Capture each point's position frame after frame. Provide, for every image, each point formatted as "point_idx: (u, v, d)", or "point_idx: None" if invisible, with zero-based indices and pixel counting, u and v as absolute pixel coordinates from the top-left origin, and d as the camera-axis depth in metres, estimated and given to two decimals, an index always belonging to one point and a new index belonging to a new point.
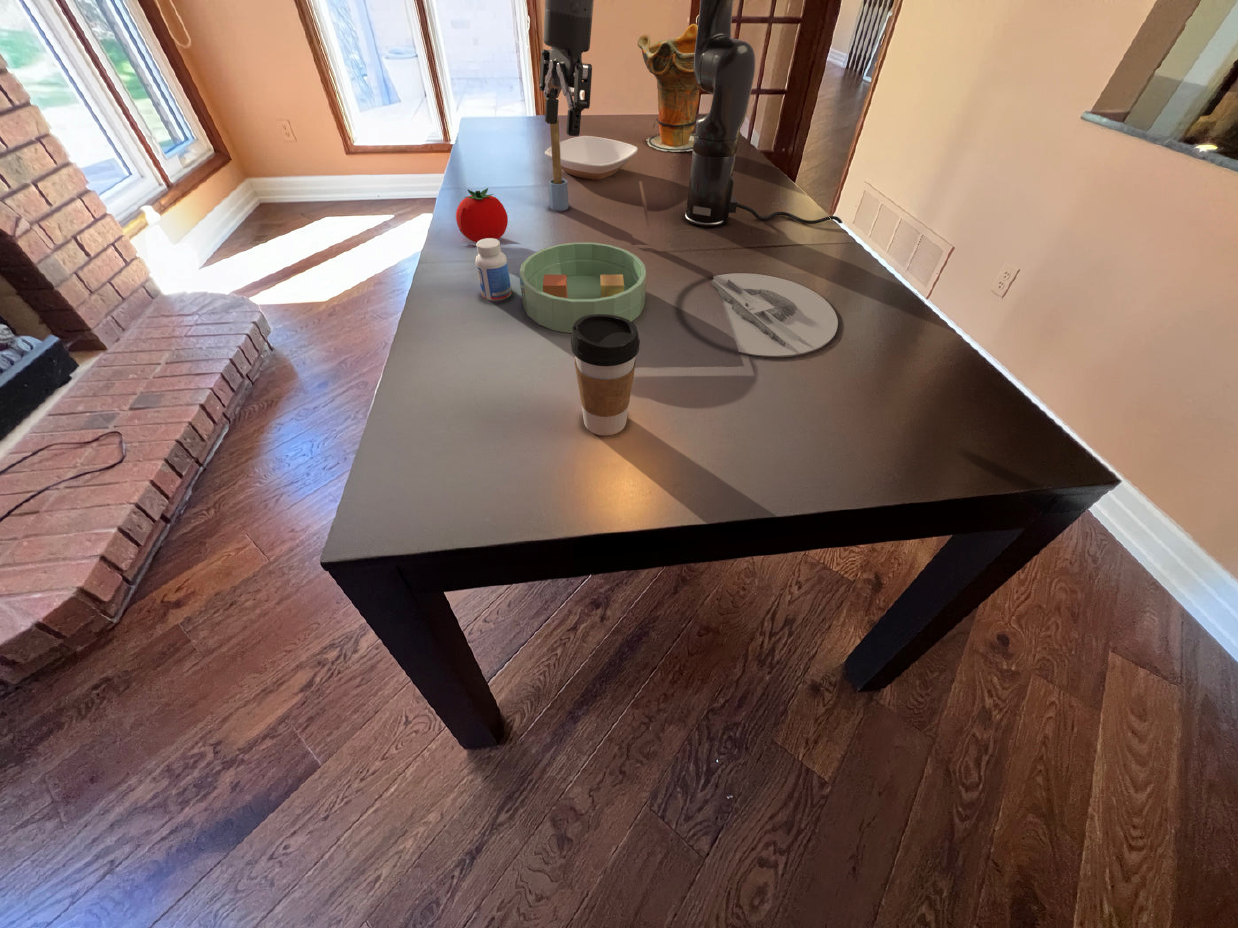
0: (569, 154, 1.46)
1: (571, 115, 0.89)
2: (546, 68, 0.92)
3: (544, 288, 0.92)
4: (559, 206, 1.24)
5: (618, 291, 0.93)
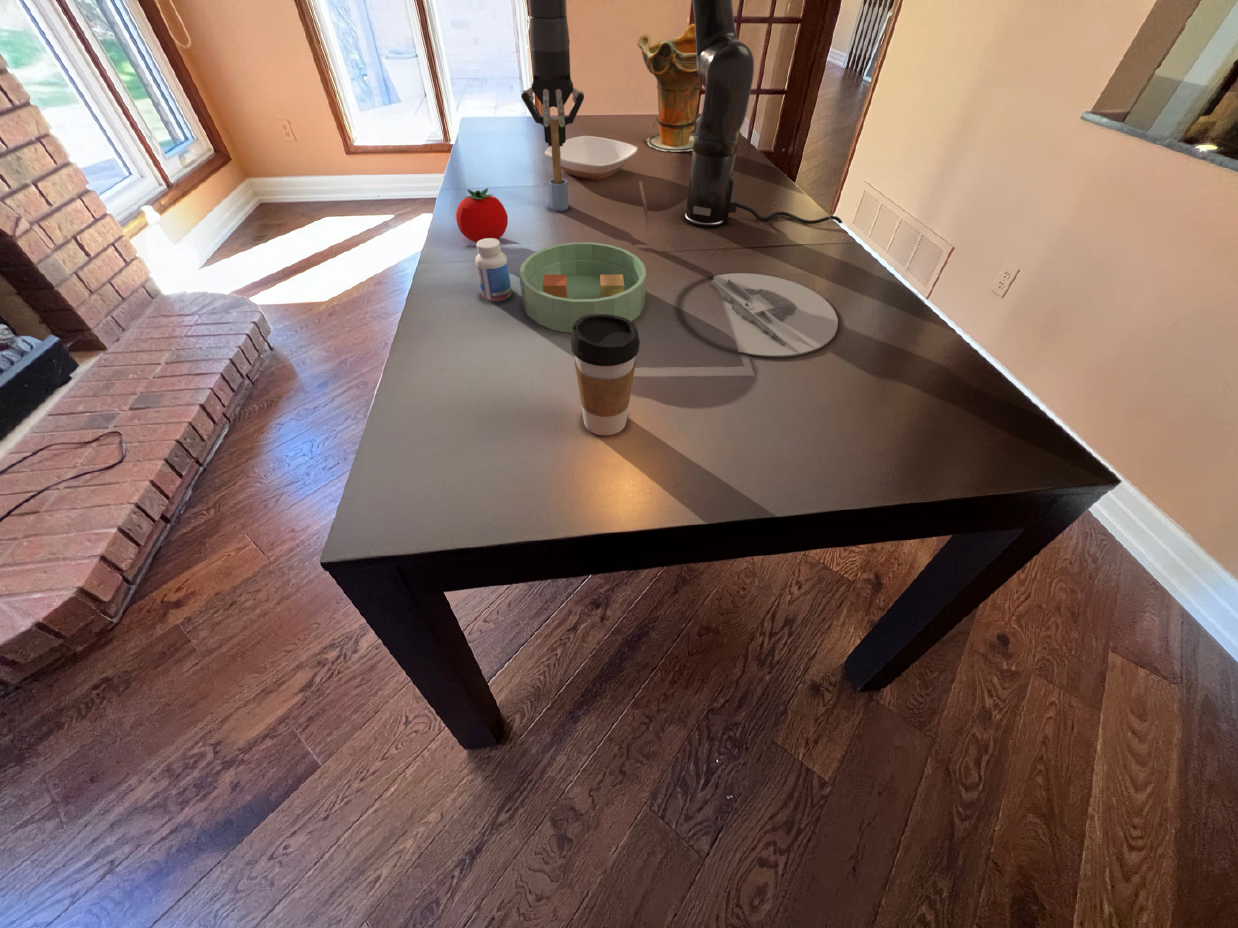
0: (569, 154, 1.46)
1: None
2: (574, 103, 1.12)
3: (544, 288, 0.92)
4: (559, 206, 1.24)
5: (618, 291, 0.93)
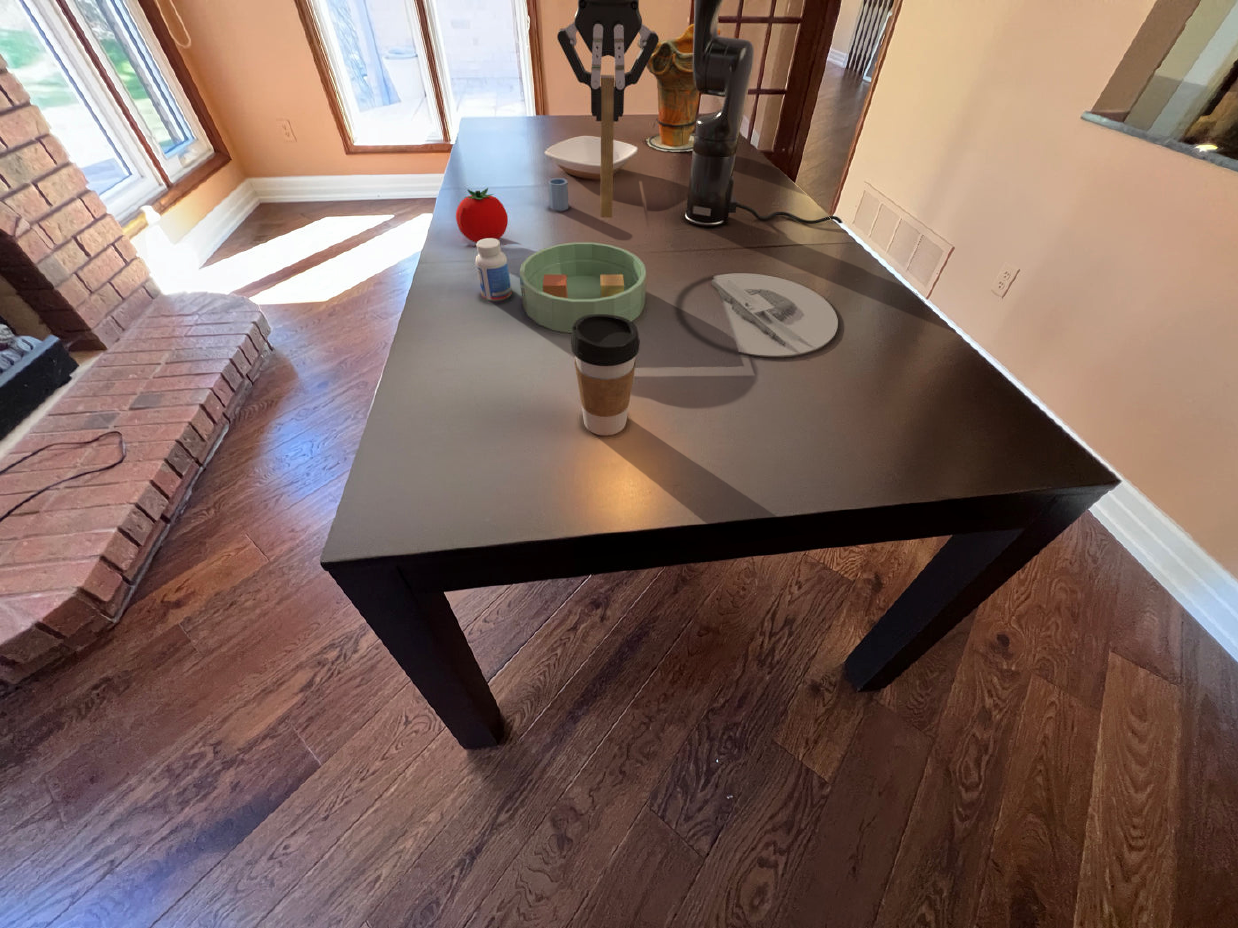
0: (569, 154, 1.46)
1: None
2: (641, 50, 0.70)
3: (544, 288, 0.92)
4: (559, 206, 1.24)
5: (618, 291, 0.93)
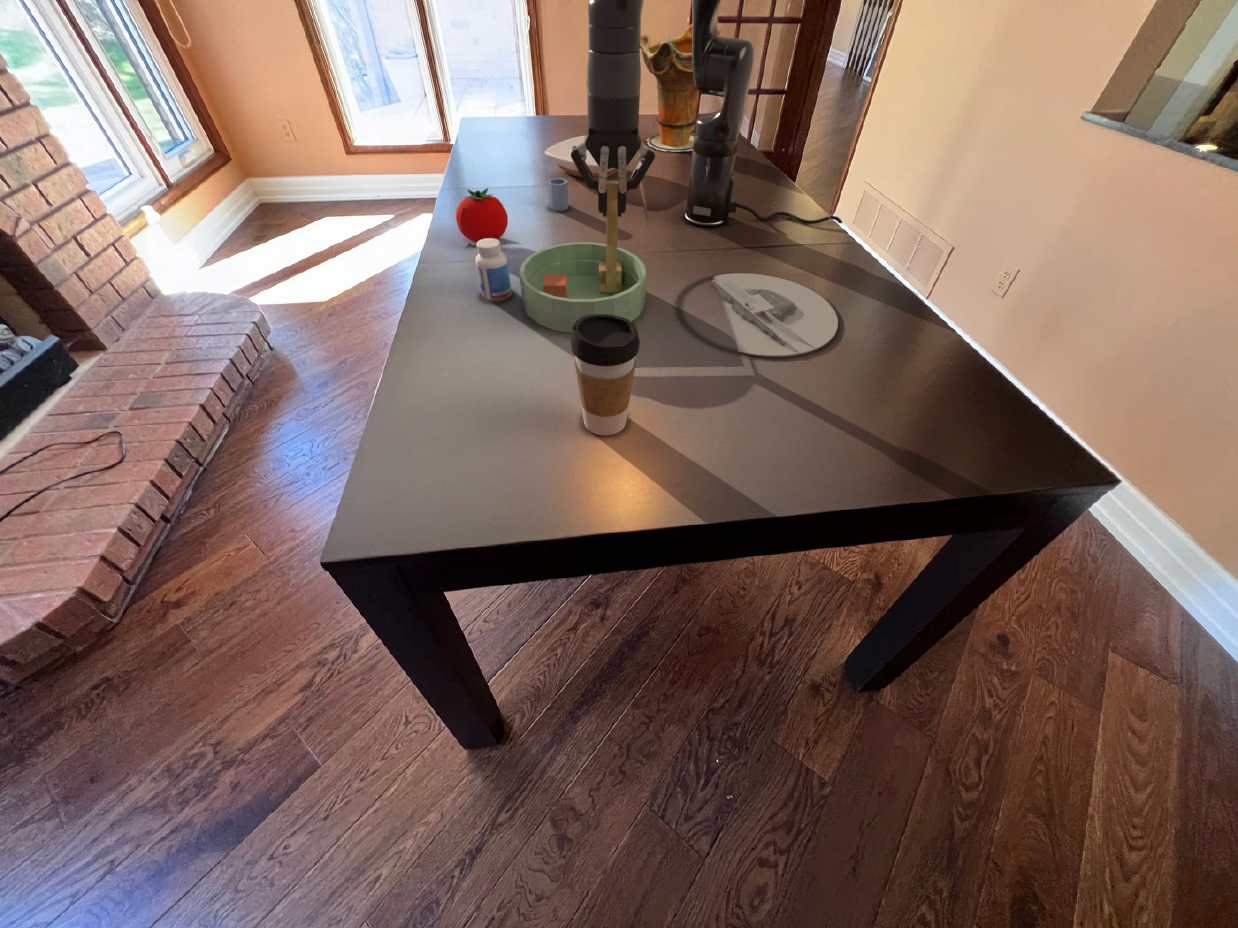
0: (569, 154, 1.46)
1: None
2: (640, 162, 0.83)
3: (544, 288, 0.92)
4: (559, 206, 1.24)
5: None
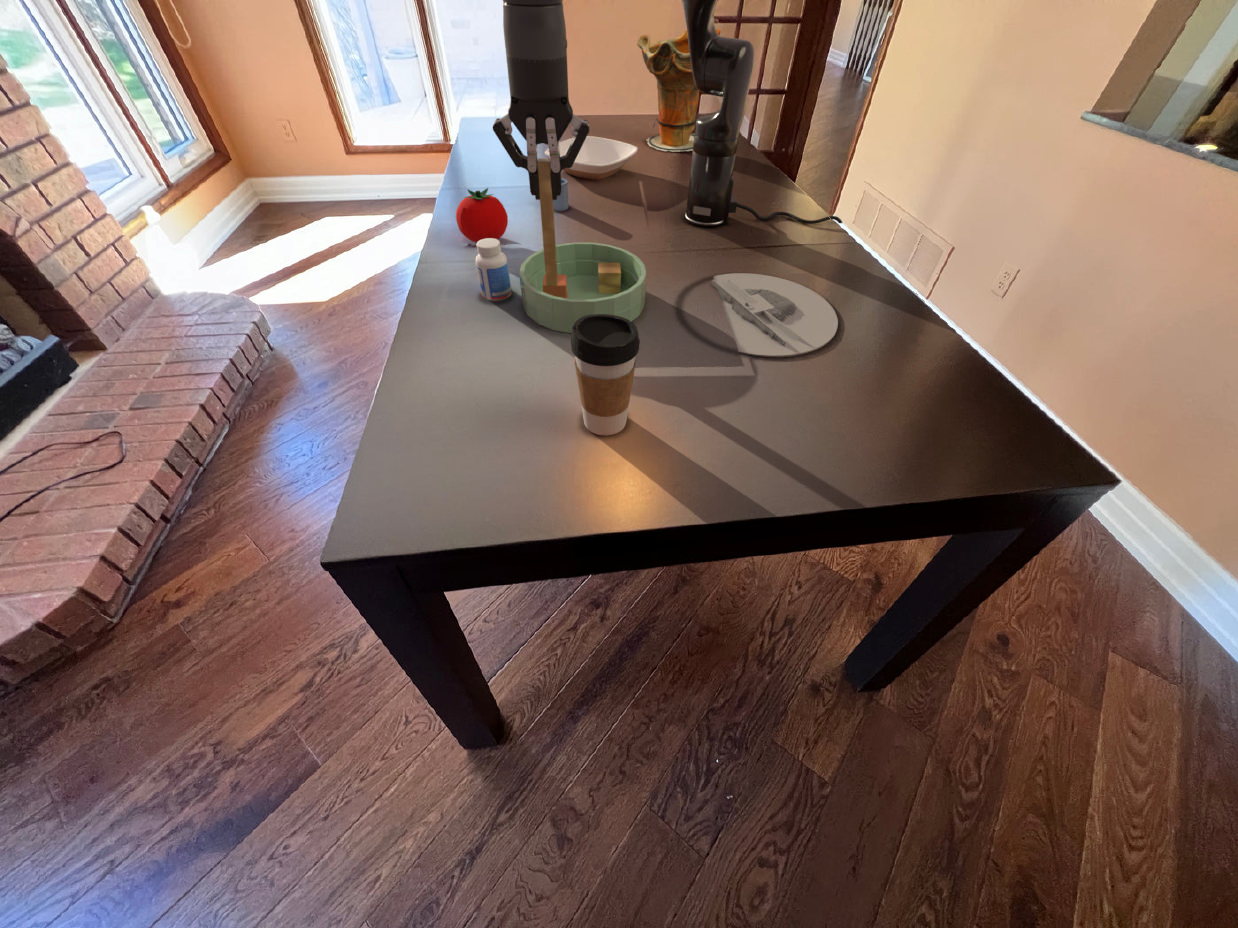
0: None
1: None
2: (574, 137, 0.74)
3: (544, 288, 0.92)
4: (559, 206, 1.24)
5: (615, 278, 0.96)
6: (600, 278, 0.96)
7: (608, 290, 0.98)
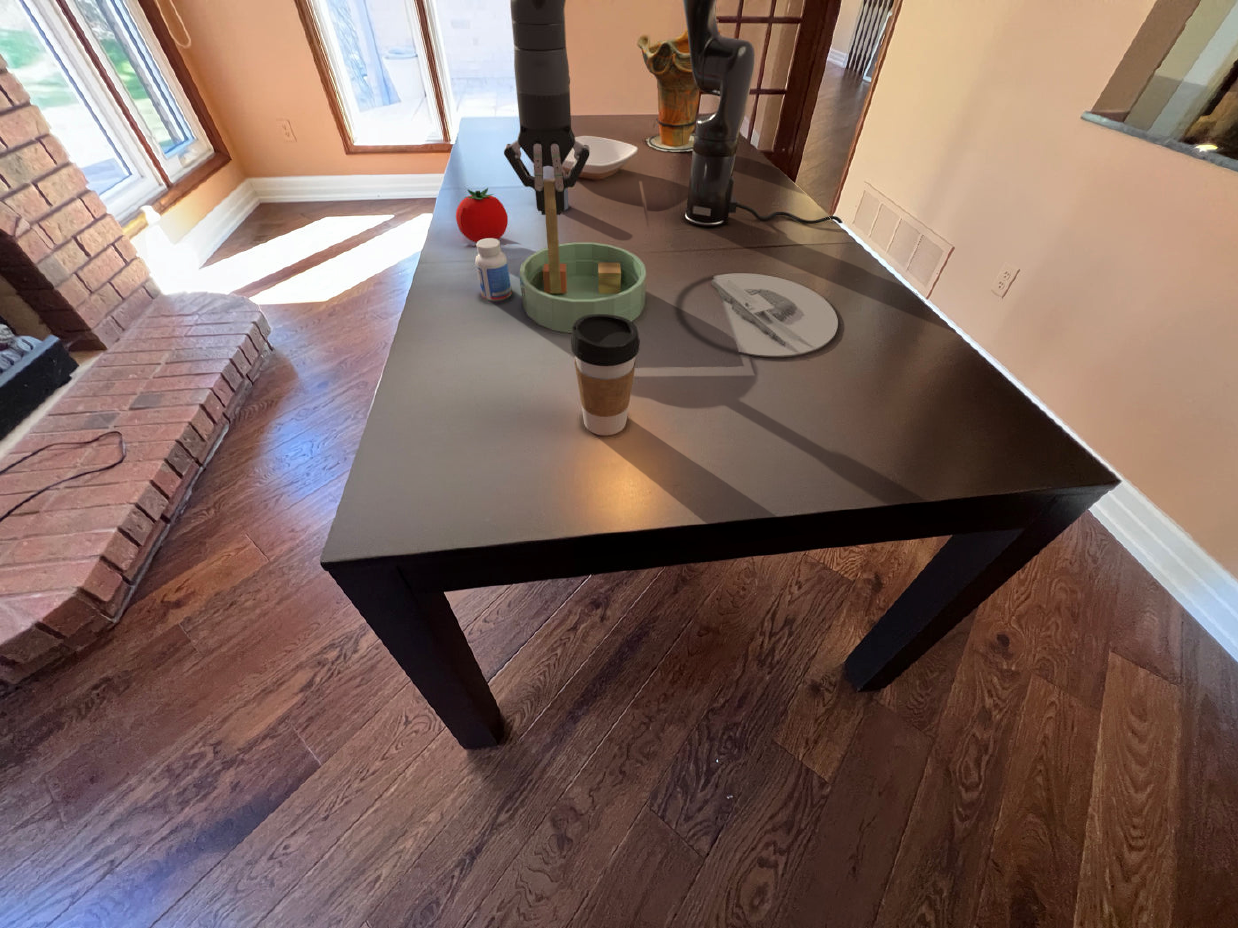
0: (569, 154, 1.46)
1: None
2: (576, 160, 0.83)
3: (544, 274, 0.95)
4: None
5: (615, 278, 0.96)
6: (600, 278, 0.96)
7: (608, 290, 0.98)
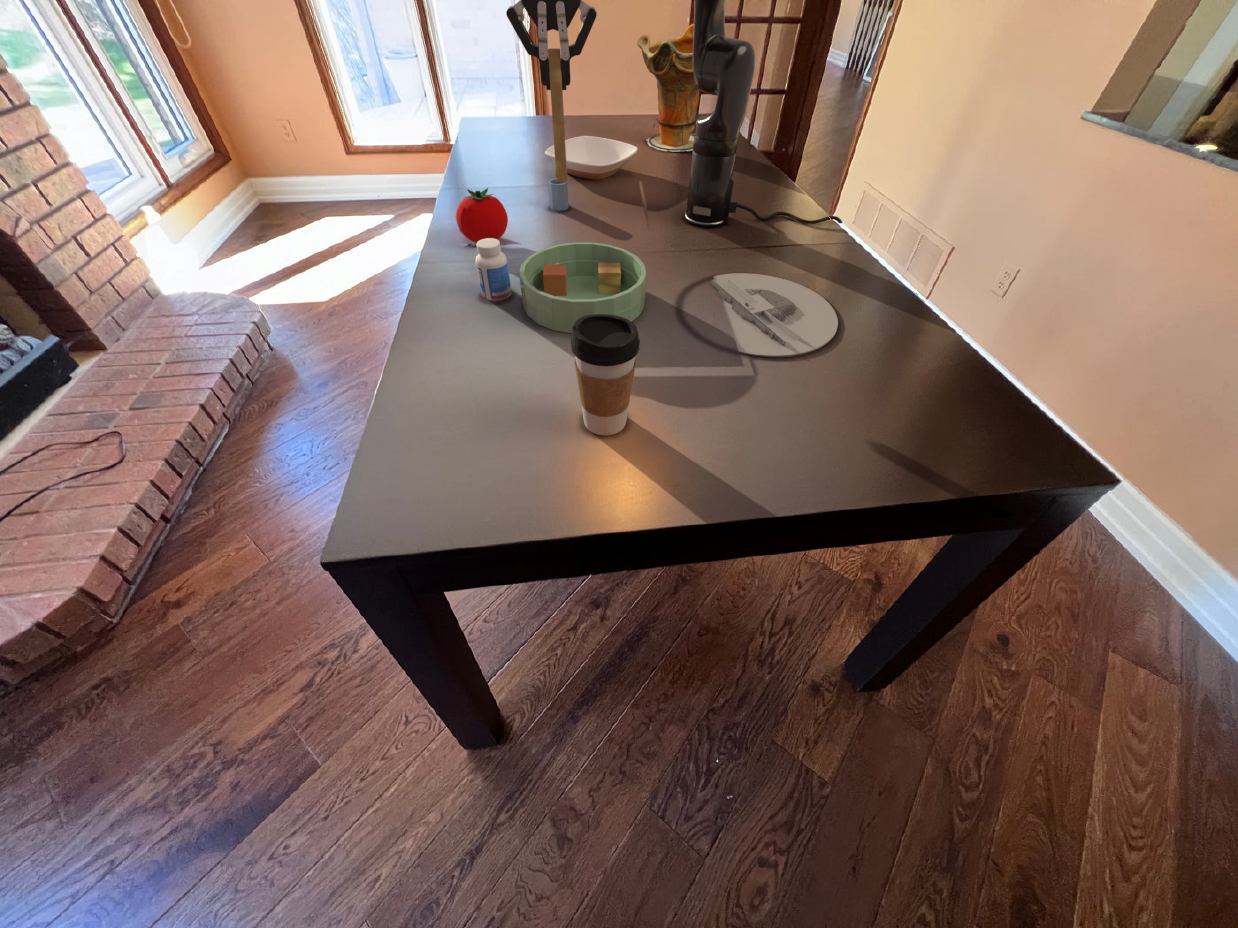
0: (569, 154, 1.46)
1: None
2: (582, 24, 0.78)
3: (544, 277, 0.95)
4: (559, 206, 1.24)
5: (615, 278, 0.96)
6: (600, 278, 0.96)
7: (608, 290, 0.98)
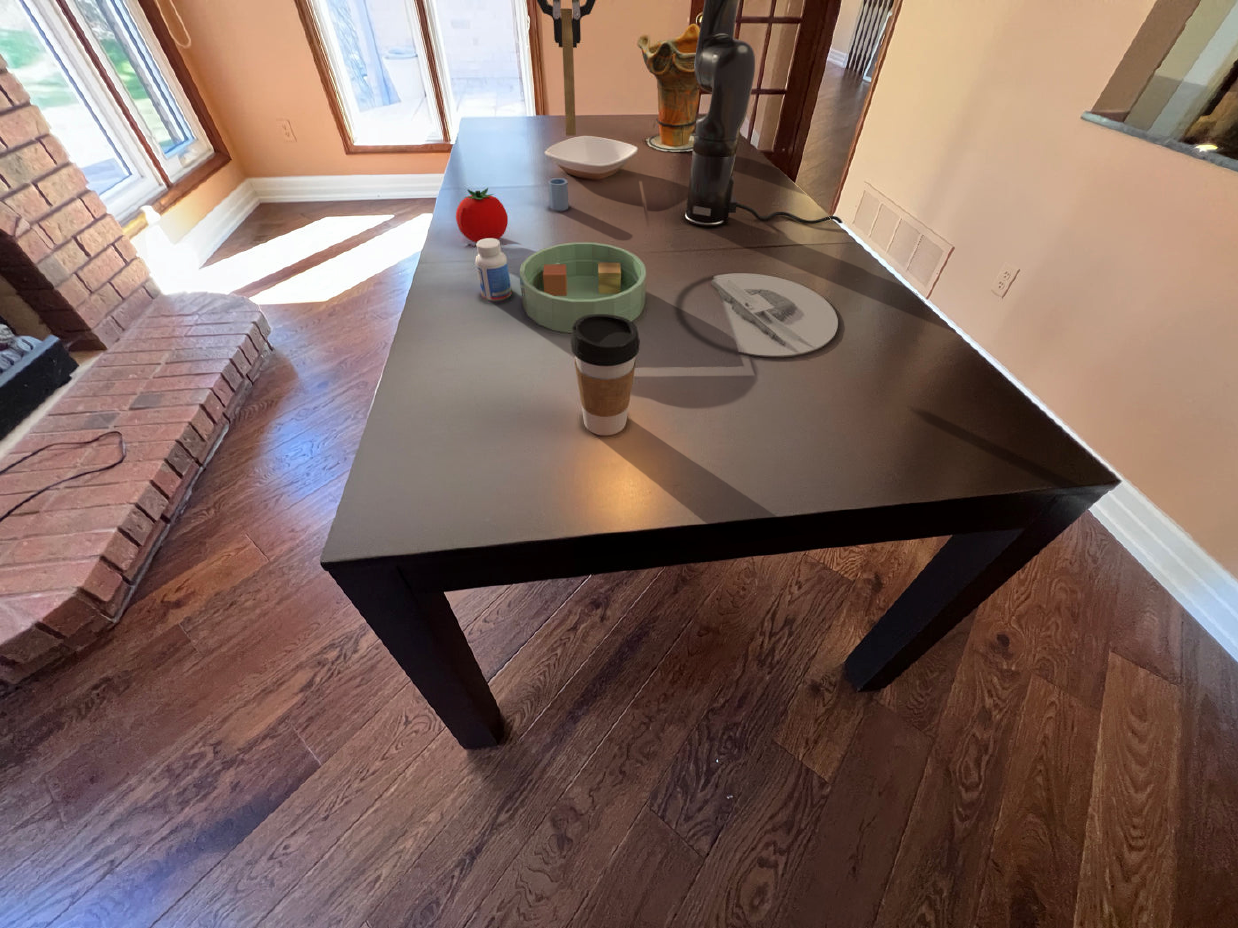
0: (569, 154, 1.46)
1: None
2: None
3: (544, 277, 0.95)
4: (559, 206, 1.24)
5: (615, 278, 0.96)
6: (600, 278, 0.96)
7: (608, 290, 0.98)
